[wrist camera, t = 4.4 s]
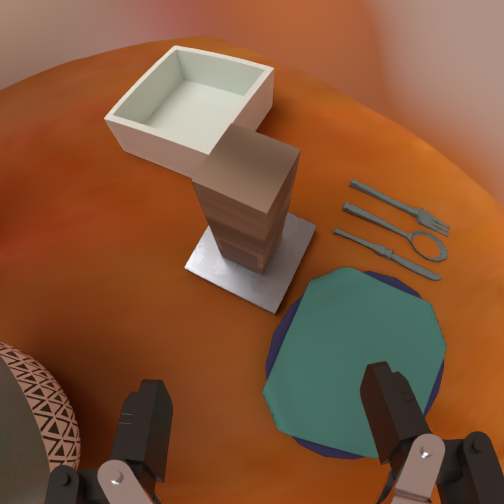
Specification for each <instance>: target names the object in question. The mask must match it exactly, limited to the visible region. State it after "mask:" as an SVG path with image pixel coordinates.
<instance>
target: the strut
mask: <svg viewBox="0 0 504 504" xmlns="http://www.w3.org/2000/svg"><path fill="white" fill-rule="evenodd" d="M300 152H301V150H300V149H298V148H296V147H293V146H291V145H288V144H286V143H283V142H281V141H278V140H276V139H273V138H271V137H268V136H265V135H263V134H260V133H258V132H255V131H252V130H249V129H247V128H244V127H241V126H238V125H235V124H233V123H231V124H230V125H229V127H228V128H227V130H226V131H225V132H224V134H223V135H222V137H221V138H220V139H219V141H218V142H217V144H216V145H215V146H214V148H213V149H212V151H211V152H210V154H209V155H208V157H207V158H206V160H205V161H204V162H203V164H202V165H201V167H200V168H199V170H198V171H197V173H196V174H195V176H194V177H193V179H192V183H193V186H194V189H195V191H196V194H197V196H198V199H199V201H200V204H201V207H202V209H203V212H204V214H205V217H206V219H207V222H208V224H209V227H210V229H211V232H212V234H213V237H214V239H215V242H216V244H217V247H218V249H219V251H220V254H221V256H222V257H224V258H226V259H228V260H231V261H233V262H235V263H237V264H239V265H241V266H243V267H245V268H247V269H249V270H251V271H253V272H255V273H257V274H259V275H261V276H262V275H263V273H264V271H265V269H266V267H267V265H268V263H269V261H270V259H271V257H272V255H273V253H274V251H275V249H276V247H277V245H278V243H279V241H280V239H281V237H282V234H283V229H284V225H285V221H286V216H287V212H288V207H289V203H290V198H291V194H292V189H293V185H294V180H295V175H296V171H297V166H298V161H299V157H300Z"/></svg>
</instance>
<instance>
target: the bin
mask: <svg viewBox="0 0 504 504" xmlns="http://www.w3.org/2000/svg"><path fill="white" fill-rule="evenodd" d="M273 84H274V68H272V67H269V66H265V65H262V64H258V63H254V62H251V61H247V60H243V59H239V58H235V57H231V56H227V55H222V54H218V53H213V52H208V51H203V50H198V49H192V48H186V47H180V46H174V47H173V48H171V49H170V50H169V51H168V52H167V53H166V54H165V55H164V56H163V57H162V58H161V59H160V60H158V61H157V62H156V63H155V64H154V65H153V66H152V67H151V68H150V69H149V70H148V71H147V72H146V73H145V74H144V75H143V76H142V77H141V78H140V79H139V80H138V81H137V82H136V83H135V84H134V85H133V86H132V87H131V89H130V90H129V91H128V92H127V93H126V94H125V95H124V96H123V97H122V98H121V99H120V101H119V102H118V103H117V104H116V105H115V106H114V107H113V108H112V110H111V111H110V112H109V113H108V114H107V115H106V117H105V118H104V120H105V121H106V123H107V125H108V126H109V128H110V130H111V131H112V133H113V134H114V136H115V138H116V139H117V141H118V142H119V144H120V146H121V147H122V149H123V150H124V151H125V152H128V153H130V154H133V155H135V156H138V157H140V158H143V159H145V160H148V161H150V162H153V163H155V164H158V165H160V166H163V167H165V168H168V169H170V170H172V171H175V172H177V173H180V174H182V175H184V176H187V177H189V178H192V179H193V177H194V176H195V174H196V173H197V171H198V170H199V168H200V167H201V165H202V164H203V162H204V161H205V160H206V158H207V157H208V155H209V154H210V152H211V151H212V149H213V148H214V146H215V145H216V144H217V142H218V141H219V139H220V138H221V137H222V135H223V134H224V132H225V131H226V130H227V128H228V127H229V125H230V124H231V123H233V124H235V125H238V126H241V127H244V128H247V129H249V130H252V131H256V130H257V128H258V127H259V125H260V124H261V122H262V121H263V119H264V118H265V116H266V115H267V113H268V112H269V110H270V109H271V107H272V102H273Z"/></svg>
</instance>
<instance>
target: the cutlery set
mask: <svg viewBox="0 0 504 504" xmlns="http://www.w3.org/2000/svg"><path fill="white" fill-rule="evenodd" d="M350 187H353V188H355V189H358V190H360V191H362V192H365V193H367V194H369V195H371V196H373V197H374V198H377V199H379V200H381V201H383V202H385V203H387V204H389V205H392V206H394V207H396V208H398V209H401V210H403V211H405V212H408V213H410V214H412V215H411V216H412V217H416V219H417V223H418V224H420V225H423V226H425V227H427V228H430V229H432V230H434V231H436V232H438V233H441V234H443V235H445V236H447V237H448V236H449V235H448V234H446V233H444V232H443V231H441V230H439V229H442V230H444V231H446V232H448V233H449V230H447V229H445V228H443V227H442V226H444V227H447V228H450V227H449V226H447V225H446V224H444V223H442V222H441V221H439V220H438V219H436V218H435V217H434V216H432V215H431V214H429V213H428V212H426V211H425V210H424V209H423V208H422V209H421V210H418V209H417V208H414V209H413V208H411V207H409V206H407V205H405V204H403V203H400V202H398V201H396V200H394V199H392V198H390V197H388V196H386V195H384V194H382V193H380V192H378V191H376V190H375V189H373V188H371V187H369V186H367V185H365V184H363V183H360V182H358V181H356V180H354V179H352V181H351V183H350ZM342 210H345V211H347V212H350V213H352V214H355V215H358V216H360V217H362V218H365V219H367V220H369V221H372V222H374V223H377V224H379V225H381V226H383V227H385V228H387V229H389V230H391V231H393V232H395V233H398V234H400V235H402V236H403V237H405V238H407V239H408V240H409V241H410V242H411V244H412V245H413V237H414V236H417V235H419V234H421V235H426V236H429V237H430V238H431V239H433V240H434V241H435V242H436V243H437V245H438V246H439V248H440V250H441V251H440V255H439V257H435V258H429V257H425V256H424V255H422V254H421V253H420V252H418V251H417V250H416V248H415V246H414V245H413V247H414V249H415V251H416V252H418V253H419V254H420V255H422V256H423V257H424V258H428V259H431V260H435V261H440V260H444V259H446V258H447V252H448V251H447V249H446V248H445V246H444V245H443V243H442V242H441V241H440V240H439V239H438V238H436V237H435V236H434V235H432V234H431V233H427V232H424V231H416V232H413V233H410V234H406V233H405V232H403V231H401V230H400V229H398V228H396V227H394V226H393V225H391V224H389V223H387V222H385V221H384V220H382V219H380V218H378V217H376V216H374V215H372V214H370V213H368V212H366V211H364V210H362V209H360V208H358V207H356V206H354V205H352V204H349V203H348V202H345V204H344V206H343V209H342ZM437 223H438V224H437ZM439 224H440V225H442V226H440V225H439ZM438 228H439V229H438ZM335 233H336V234H339V235H341V236H344V237H347V238H349V239H352V240H354V241H356V242H358V243H360V244H362V245H364V246H366V247H369V248H371V249H372V250H373V251H375V252H376V253H377V254H378V255H384V256H385V257H386V258H387V260H388V259H390V258H391V259H392V260H394V261H395V262H397V263H399V264H400V265H402V266H403V267H405V268H407V269H409V270H411V271H413V272H415V273H417V274H419V275H421V276H424V277H426V278H428V279H430V280H440V279H442V277H441V276H439V275H437V274H435V273H433V272H431V271H429V270H427V269H425V268H423V267H421V266H419V265H417V264H415V263H412V262H410V261H408V260H406V259H404V258H402V257H400V256H398V255H395V254H393V253H392V251H393V249H391V250H388V249H386V248H385V247H384V245H376V244H372V243H370V242H367V241H365V240H363V239H360V238H357V237H354V236H352V235H350V234H348V233H345V232H343V231H341V230H339V229H337V227H336V228H335V230H334V233H333V234H335ZM446 345H447V344H446V342H445V341H444V336H443V334H442V333H441V328H440V326H439V325H438V320H437V318H436V317H435V311H434V310H433V308H432V304H430V303H429V302H427V301H425V300H423V299H422V298H421V297H420V295H419V294H418V293H417V292H416V291H414V290H413V289H411V288H410V287H408V286H407V285H405V284H404V283H402V282H401V281H399V280H398V279H396V278H394V277H390V276H386V275H382V274H378V273H375V272H371V271H367V272H360V271H358V270H355V269H353V268H348V267H342V268H338V269H336V270H334V271H332V272H331V273H328V274H326V275H324V276H321V277H318V278H315V279H312V280H311V281H310V282H309V284H308V286H307V288H306V290H305V293H304V295H303V296H302V297H301V298H299V299H298V300H297V301H296V302H295V303H293V304H292V305H291V307H290V308H289V310H288V311H287V313H286V315H285V316H284V318H283V319H282V321H281V323H280V324H279V326H278V327H277V329H276V331H275V332H274V335H273V339H272V342H271V346H270V350H269V354H268V358H267V361H266V377H267V382H266V384H265V386H264V389H263V392H262V394H263V396H264V398H265V401H266V403H267V405H268V407H269V411H270V413H271V414H272V417H273V420H274V422H275V424H276V427H277V429H279V430H280V431H282V432H283V433H286V434H288V435H291V436H292V437H293V438H294V439H295V441H296V442H297V443H298V444H299V445H301V446H303V447H305V448H308V449H310V450H312V451H314V452H316V453H318V454H320V455H322V456H325V457H333V458H344V459H357V458H361V457H365V456H366V457H370V458H379V456H378V452H377V449H376V446H375V442H374V439H373V436H372V432H371V429H370V426H369V423H368V420H367V417H366V413H365V410H364V407H363V404H362V401H361V397H360V385H361V382H362V379H363V376H364V373H365V370H366V367H367V365H368V364H372V363H377V362H382V361H386V362H387V363H388V364H389V366H390V369H391V371H392V373H393V372H397V371H399V372H400V373H401V374H402V375H403V376H404V377H405V378H406V379H407V380H408V382H409V384H410V386H411V388H412V392H413V393H414V395H415V397H416V400H417V402H418V404H419V406H420V408H421V411H422V413H423V415H424V418H425V417H426V415H427V413H428V411H429V409H430V407H431V405H432V403H433V402H434V400H435V398H436V396H437V394H438V391H439V387H440V382H441V378H442V373H443V368H444V356H445V352H446Z"/></svg>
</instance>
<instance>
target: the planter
mask: <svg viewBox="0 0 504 504" xmlns="http://www.w3.org/2000/svg"><path fill="white" fill-rule="evenodd" d="M80 452H81V441H80V433H79V428H78V424H77V420H76V417H75V414H74V411H73V408H72V406H71V404H70V402H69V400H68V398H67V396H66V394H65V393H64V391H63V389H62V388H61V386H60V385H59V383H58V382H57V381H56V379H55V378H54V377H53V376H52V375H51V374H50V372H49V371H48V370H47V369H46V368H45V367H44V366H43V365H41V364H40V363H39V362H38V361H36V360H35V359H34V358H32V357H31V356H29V355H28V354H26V353H24V352H23V351H21V350H19V349H17V348H15V347H13V346H10V345H8V344H6V343H3V342H0V504H44V503H45V497H46V492H47V487H48V482H49V477H50V474H51V472H52V470H53V469H54V468H55V467H57V466H59V465H68V466H70V467H72V468H73V469H75V470H76V471H77V468H78V465H79V461H80Z"/></svg>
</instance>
